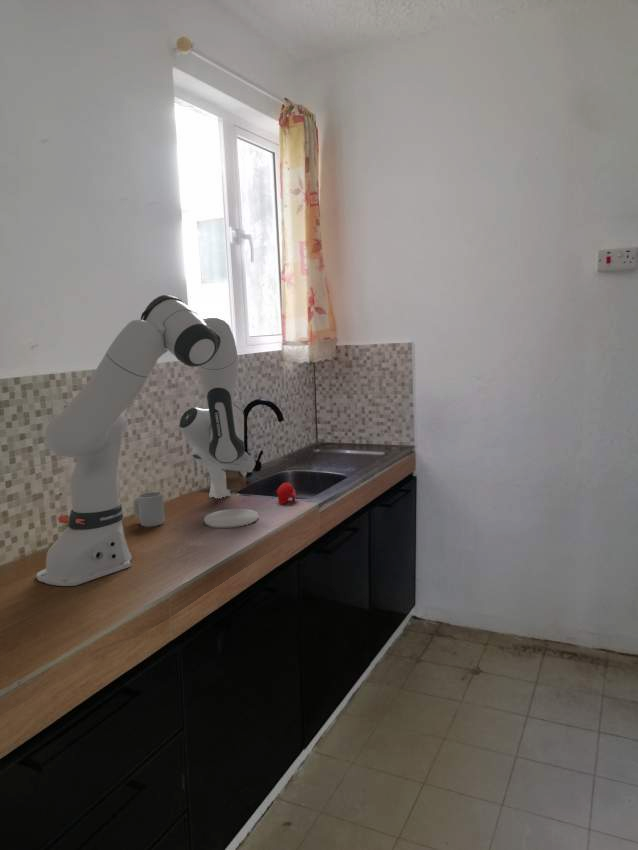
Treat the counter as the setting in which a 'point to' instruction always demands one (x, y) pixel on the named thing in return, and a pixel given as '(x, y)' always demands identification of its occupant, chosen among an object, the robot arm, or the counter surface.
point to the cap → (286, 493)
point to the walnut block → (235, 480)
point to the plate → (231, 518)
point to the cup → (150, 509)
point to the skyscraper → (218, 484)
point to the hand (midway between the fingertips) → (237, 473)
